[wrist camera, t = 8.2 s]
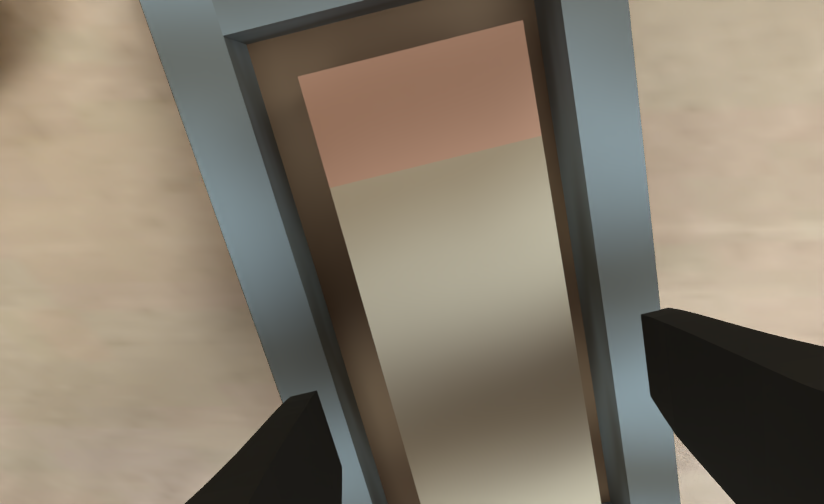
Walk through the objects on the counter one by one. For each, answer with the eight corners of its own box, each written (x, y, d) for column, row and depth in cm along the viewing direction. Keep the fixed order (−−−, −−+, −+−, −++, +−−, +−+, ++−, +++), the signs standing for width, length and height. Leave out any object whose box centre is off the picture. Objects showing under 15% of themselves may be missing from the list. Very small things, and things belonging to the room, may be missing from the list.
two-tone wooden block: (555, 475, 18) (619, 615, 13) (442, 501, 18) (463, 650, 13) (474, 47, 14) (522, 20, 9) (328, 83, 14) (297, 77, 9)
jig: (666, 514, 19) (712, 580, 17) (355, 585, 20) (350, 662, 17) (594, -125, 13) (645, -181, 11) (146, -12, 14) (88, -38, 11)
